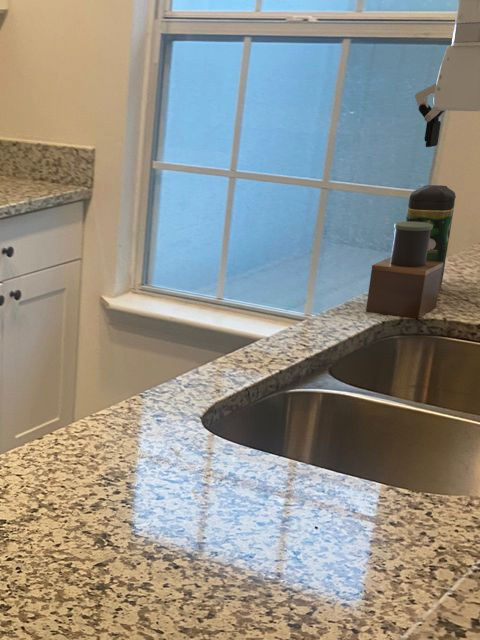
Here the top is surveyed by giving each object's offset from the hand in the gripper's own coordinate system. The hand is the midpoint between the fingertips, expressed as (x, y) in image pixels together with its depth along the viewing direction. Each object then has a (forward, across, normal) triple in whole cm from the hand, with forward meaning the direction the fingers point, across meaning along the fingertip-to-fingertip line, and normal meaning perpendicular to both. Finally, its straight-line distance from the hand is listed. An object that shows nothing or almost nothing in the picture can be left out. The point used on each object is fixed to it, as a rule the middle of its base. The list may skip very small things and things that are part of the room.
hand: (459, 147), depth 172 cm
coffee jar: (+26, +8, -10) cm, 29 cm away
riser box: (+26, +2, +8) cm, 28 cm away
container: (+18, +2, +8) cm, 20 cm away
